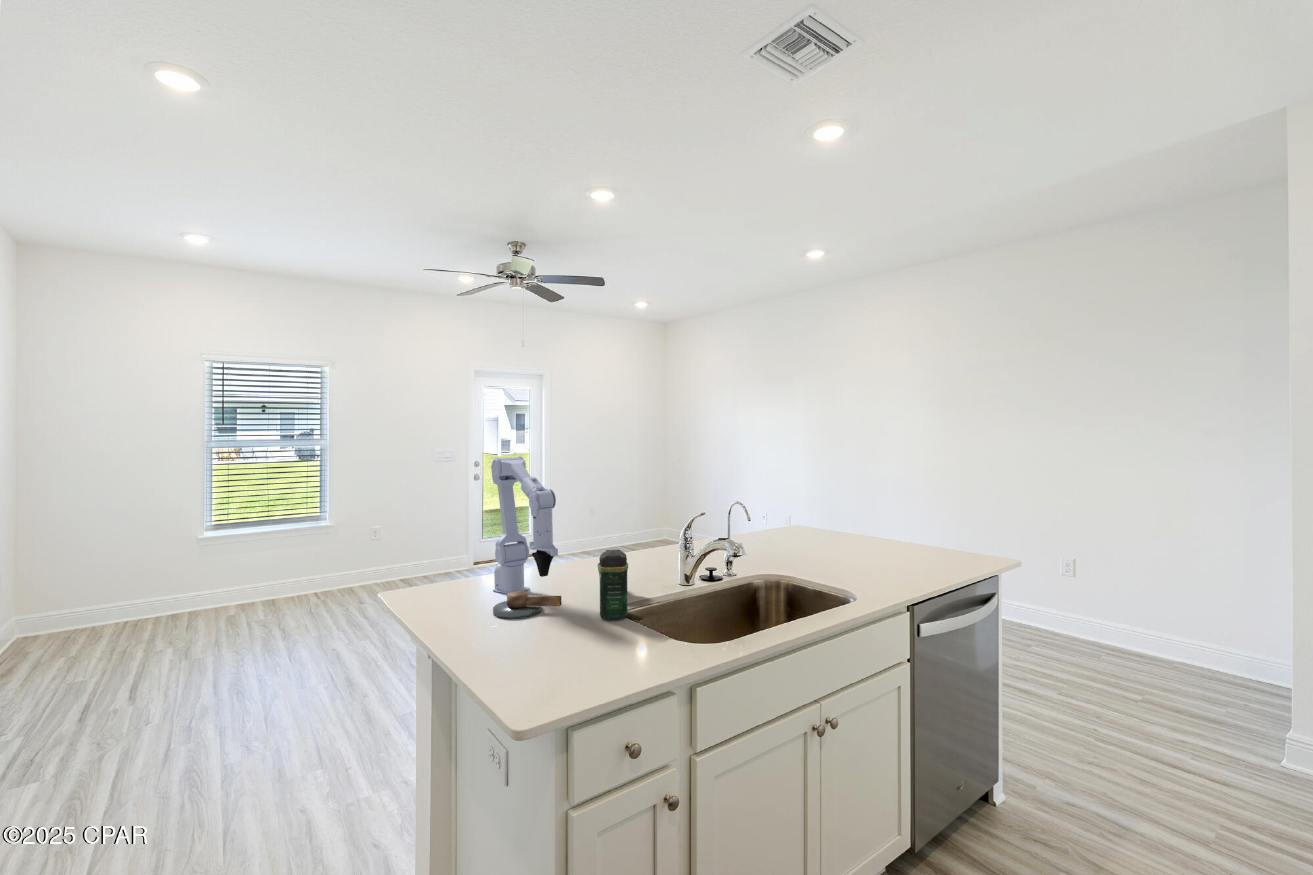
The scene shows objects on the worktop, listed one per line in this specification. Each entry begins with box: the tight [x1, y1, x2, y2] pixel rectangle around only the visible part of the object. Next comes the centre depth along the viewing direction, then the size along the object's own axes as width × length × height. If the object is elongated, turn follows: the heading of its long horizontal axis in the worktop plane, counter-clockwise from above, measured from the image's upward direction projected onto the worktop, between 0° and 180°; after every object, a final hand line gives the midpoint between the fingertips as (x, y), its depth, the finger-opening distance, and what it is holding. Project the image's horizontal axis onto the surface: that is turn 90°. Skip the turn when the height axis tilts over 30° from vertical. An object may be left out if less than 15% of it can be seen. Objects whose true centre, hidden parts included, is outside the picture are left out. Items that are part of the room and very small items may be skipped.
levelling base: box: [492, 600, 543, 620], centre depth 174 cm, size 14×14×2 cm
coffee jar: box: [599, 549, 628, 622], centre depth 168 cm, size 10×8×19 cm
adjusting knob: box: [506, 591, 562, 608], centre depth 173 cm, size 16×6×3 cm, turn 83°
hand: (543, 575), depth 178 cm, fingers closed
